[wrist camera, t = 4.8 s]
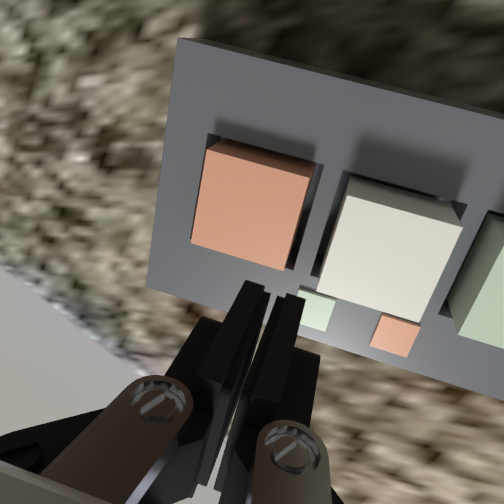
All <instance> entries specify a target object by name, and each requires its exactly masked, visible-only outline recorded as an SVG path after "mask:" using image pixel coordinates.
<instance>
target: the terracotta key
mask: <svg viewBox="0 0 504 504" xmlns="http://www.w3.org/2000/svg"><path fill="white" fill-rule="evenodd" d="M315 167H316V162H312V161H309V160H305V159H302V158H298V157H294V156H291V155H287V154H283V153H280V152H276V151H272V150H269V149H265V148H261V147H258V146H254V145H250V144H247V143H243V142H239V141H236V140H232V139H229V138H224V139H222V140H221V141H219V142H218V143H216V144H214V145H213V146H211V147H210V148H208V149H207V151H206V157H205V163H204V169H203V174H202V180H201V186H200V192H199V198H198V204H197V209H196V215H195V221H194V227H193V233H192V239H191V243H192V244H196V245H199V246H202V247H205V248H209V249H212V250H215V251H219V252H222V253H225V254H228V255H232V256H235V257H238V258H242V259H245V260H248V261H251V262H255V263H258V264H261V265H265V266H268V267H271V268H274V269H278V270H281V271H284V268H285V265H286V263H287V260H288V258H289V255H290V252H291V250H292V247H293V244H294V241H295V237H296V234H297V230H298V227H299V223H300V220H301V216H302V212H303V209H304V205H305V202H306V198H307V195H308V191H309V188H310V184H311V181H312V177H313V174H314V170H315Z"/></svg>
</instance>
